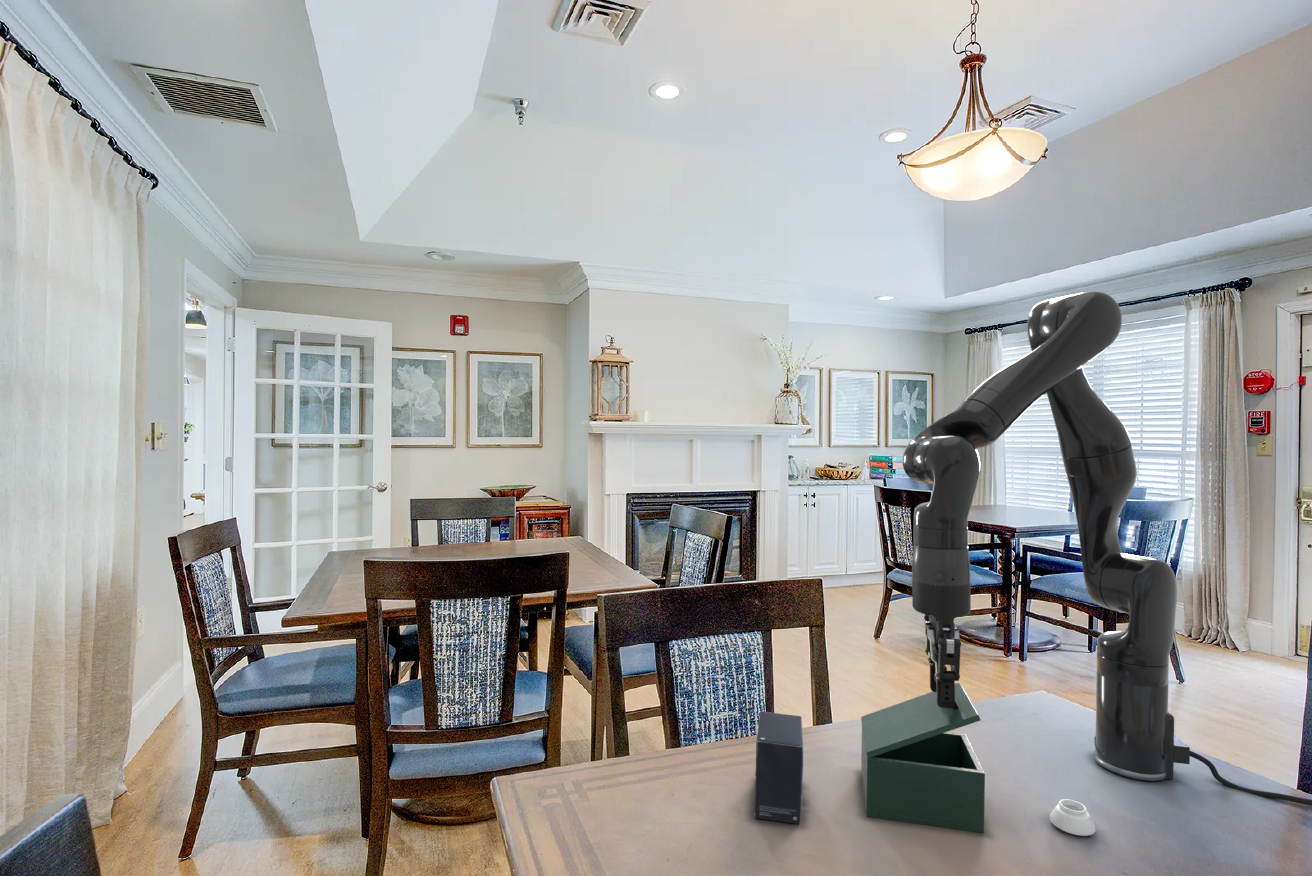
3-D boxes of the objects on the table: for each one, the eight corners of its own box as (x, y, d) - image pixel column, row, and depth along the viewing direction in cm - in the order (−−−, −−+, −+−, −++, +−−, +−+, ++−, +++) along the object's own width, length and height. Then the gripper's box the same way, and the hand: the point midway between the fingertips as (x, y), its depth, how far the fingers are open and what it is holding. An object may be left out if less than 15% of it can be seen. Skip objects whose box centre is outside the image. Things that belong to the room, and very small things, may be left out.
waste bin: (964, 786, 98) (965, 733, 98) (984, 833, 87) (985, 773, 87) (861, 773, 102) (861, 722, 102) (866, 816, 90) (867, 758, 90)
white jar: (1087, 843, 85) (1100, 828, 88) (1088, 820, 85) (1100, 806, 88) (1044, 826, 89) (1057, 812, 92) (1045, 804, 89) (1058, 791, 92)
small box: (803, 826, 88) (804, 746, 88) (753, 820, 89) (754, 741, 89) (802, 785, 98) (803, 714, 98) (757, 780, 99) (758, 709, 99)
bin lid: (962, 687, 99) (947, 656, 99) (981, 720, 87) (964, 685, 87) (863, 721, 102) (849, 691, 102) (868, 758, 90) (853, 724, 91)
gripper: (982, 590, 86) (983, 722, 86) (959, 568, 100) (960, 682, 100) (919, 587, 88) (921, 717, 88) (905, 566, 102) (906, 678, 102)
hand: (941, 698), depth 94 cm, fingers closed on bin lid, 5 cm apart
